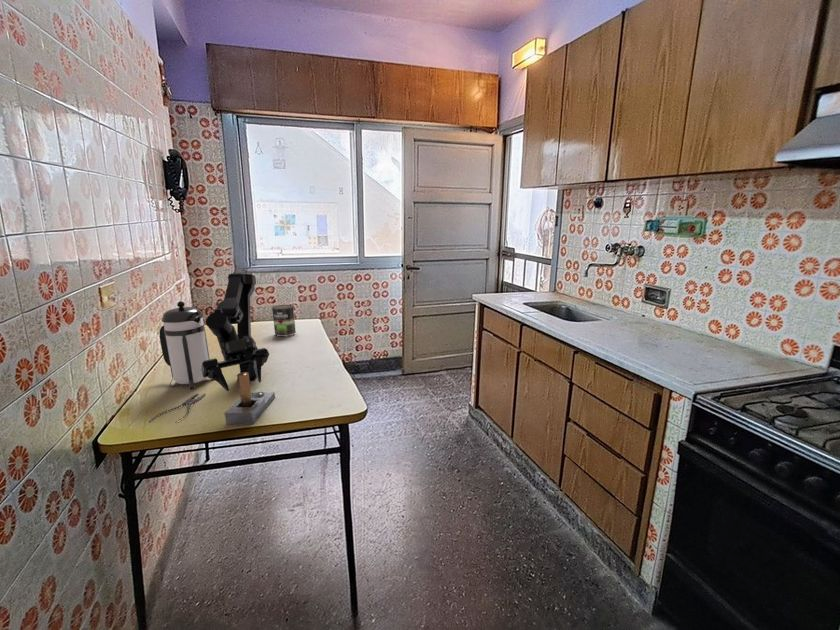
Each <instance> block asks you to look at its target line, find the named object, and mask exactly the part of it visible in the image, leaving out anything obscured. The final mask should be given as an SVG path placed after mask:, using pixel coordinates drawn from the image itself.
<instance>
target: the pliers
mask: <svg viewBox="0 0 840 630" xmlns="http://www.w3.org/2000/svg"><path fill="white" fill-rule="evenodd" d="M205 396H206V393H203V394H201V395H199V394H198V393H195V394H194V395H192V396H191V397H189V398H188V399H185V401H184V402H182V403H181V404H180V405H178V406H174V407H172V408H170V409H167V410H165V411H162V412H161V413H158V414H156V415H155V416H153V417H152V418H151V419H150V420H149V421H148V423H152V422H153V421H154V420H156V419H157V418H159V417H160V416H162V415H164V414H163V413H165V414H167V413H168V412H167V411H170V410H173V409H176V408H178V409H180V408H179V407H181V406H183V407H185V406H186V408H187V412H186V411H185V414H184V415H183V416H182V417H181V418H179V419H178V420H176V421H175V423H176V422H177V421H179V420H181V419H182V418H184V417H185V416H186V415H187V414H188V413H189V414H190V412H189V410H190V411H191V408H192V406H193V405H195V404H196V403H198V402H200V401H201V400H203V399H202V398H205ZM199 400H200V401H199ZM197 401H198V402H197ZM195 402H196V403H195ZM186 404H188V405H186ZM192 404H193V405H192ZM184 405H185V406H184ZM191 405H192V406H191ZM190 407H191V408H190ZM181 408H182V407H181ZM176 410H177V409H176ZM173 411H174V410H173ZM166 412H167V413H166ZM170 412H171V411H170ZM161 414H162V415H161ZM189 414H188V415H189ZM159 415H160V416H159ZM188 415H187V416H188ZM187 416H186V417H187ZM156 417H157V418H156ZM186 417H185V418H186ZM185 418H184V419H185ZM151 421H152V422H151ZM181 421H182V420H181Z"/></svg>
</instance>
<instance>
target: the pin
mask: <svg viewBox="0 0 840 630" xmlns="http://www.w3.org/2000/svg"><path fill="white" fill-rule="evenodd" d="M236 377H237V378H238V380H237V384H238V392H239V398H240V400H241V407H252V406H253V401H252V394H251V393H252V387H251V380H250V379H249V373H248V372H242V373H240V372H239V373H237V375H236ZM237 378H236V379H237Z"/></svg>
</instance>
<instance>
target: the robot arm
mask: <svg viewBox="0 0 840 630" xmlns="http://www.w3.org/2000/svg"><path fill="white" fill-rule="evenodd" d="M227 280H228V281H227V282H228V283H227V286H226V288H225V289H226V290H225V294H224V297H223V300H222V301H221V302H219V303H218V304H217V306H216V308H214V309H213V312H212V313H211V314H209V315H208V316H207V318H206V319H205V325H206V326H207V327H208V329H209V331H211V333H212V334H213V335H214V336H215V337H216V339H217V341H218V344H219V348H220V350H221V351H220V352H221V355H222V357H223V360H221V361H218V359H217V358H216V357H215V358H211V359H210V360H206V361H203V363H202V368H201V371H202V375H203V377H209V378H208V379H210V378H213V379H214V380H213V381H215V382H216V383H218V384H219V385H220V386H221V387H222V388H223V389H224V390H225V391H226V392H229V391H230V389H229V385H228V383H227V380H226V379H225V376H224V374H223V372H222V369H223V368H228V367H232V366H237V365H238V367H239V373H242V372H248V373H249V379H250V381H255V380H256V379H257V381H258V383H259V384H261V382H262V367H263V366H264V365H265V364H266V363H267V362H268V359H269V356H270V352H269V350H268V349H267V348H265V347H262V348H258V347H257V343H256V341H255V340H254V338H253V336H252V332H251V331H252V327H251V323H252V322H251V319H252V318H251V316H252V315H251V297H252V296H253V293H254V292H255V289H256V287H255V286H256V285H257V278H256V276H255V274H253V273H251V272H231V273H228V276H227ZM234 325H236V327H237V329H236V328H235V326H234ZM236 380H237V381H238V378H236Z"/></svg>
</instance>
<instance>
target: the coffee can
mask: <svg viewBox="0 0 840 630" xmlns="http://www.w3.org/2000/svg"><path fill="white" fill-rule="evenodd" d="M271 310H272V318H273V319H272V320H273V326H274V327H273V328H274V329H273V330H274V336H275V335H277V336H276V337H278V336H286V337H289V336H288V335H291V336H293V335H292V334H294V333H296V334H297V331H296V321H295V309H294V305H293V304H278V305H273V306H272V307H271ZM294 335H295V334H294Z"/></svg>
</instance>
